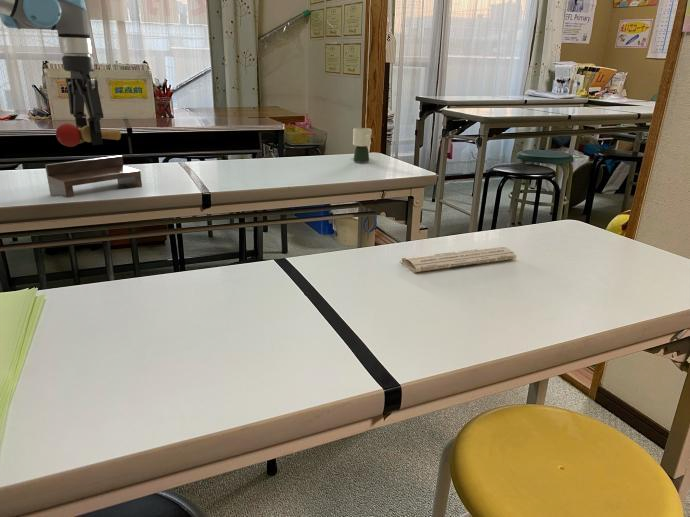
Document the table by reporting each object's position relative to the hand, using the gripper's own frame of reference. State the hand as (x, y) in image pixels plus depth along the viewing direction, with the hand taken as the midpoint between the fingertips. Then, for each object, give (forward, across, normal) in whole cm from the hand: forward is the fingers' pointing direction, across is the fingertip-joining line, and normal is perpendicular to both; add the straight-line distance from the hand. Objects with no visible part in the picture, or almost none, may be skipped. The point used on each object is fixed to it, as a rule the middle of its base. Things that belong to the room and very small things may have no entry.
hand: (90, 142), depth 145 cm
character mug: (+15, -22, -96) cm, 99 cm away
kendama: (0, 0, 0) cm, 1 cm away
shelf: (+14, +1, 0) cm, 14 cm away
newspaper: (+15, -104, -25) cm, 108 cm away
